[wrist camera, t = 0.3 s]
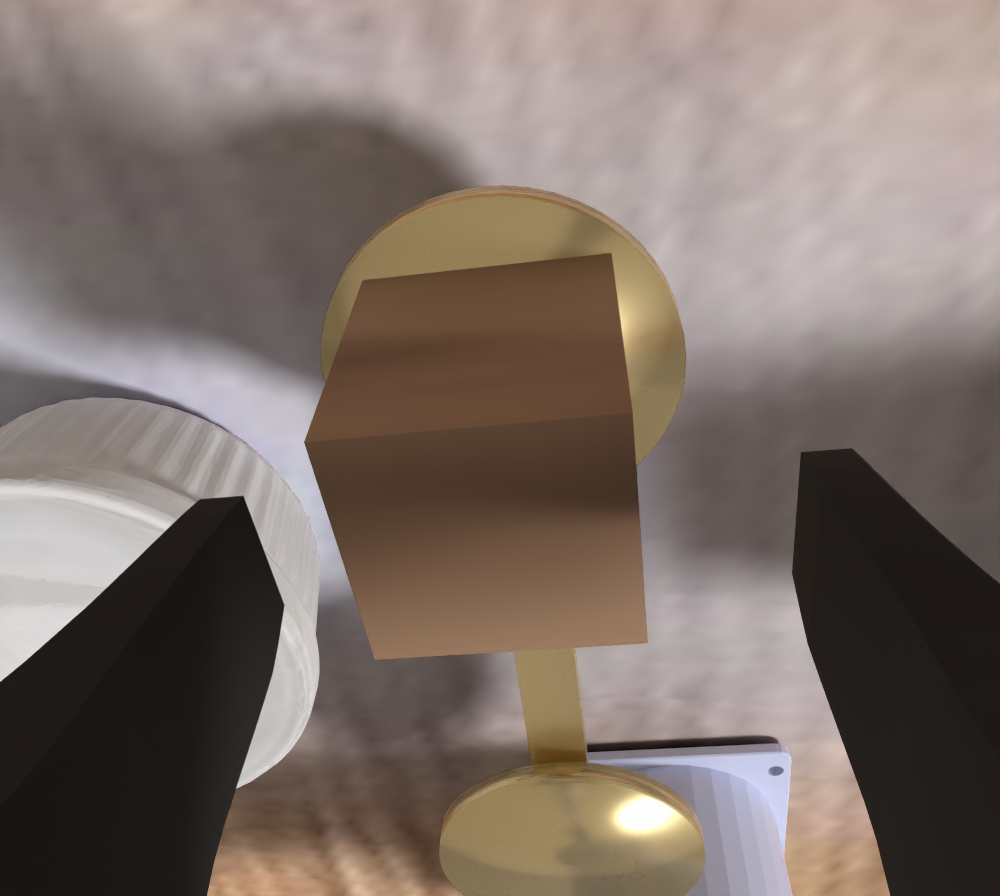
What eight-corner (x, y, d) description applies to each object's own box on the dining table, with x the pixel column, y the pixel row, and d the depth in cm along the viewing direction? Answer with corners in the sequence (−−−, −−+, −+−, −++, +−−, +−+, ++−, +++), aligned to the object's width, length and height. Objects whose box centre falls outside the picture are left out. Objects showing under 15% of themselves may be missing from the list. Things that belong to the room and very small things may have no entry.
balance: (681, 741, 31) (706, 923, 26) (474, 751, 32) (461, 930, 27) (658, 102, 19) (696, 221, 14) (322, 145, 19) (247, 271, 15)
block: (626, 456, 19) (648, 643, 15) (410, 474, 19) (374, 659, 15) (611, 252, 16) (632, 412, 12) (362, 280, 17) (304, 442, 13)
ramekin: (152, 277, 22) (56, 401, 17) (430, 574, 27) (408, 725, 23) (-134, 473, 26) (-269, 613, 21) (158, 698, 31) (96, 846, 27)
